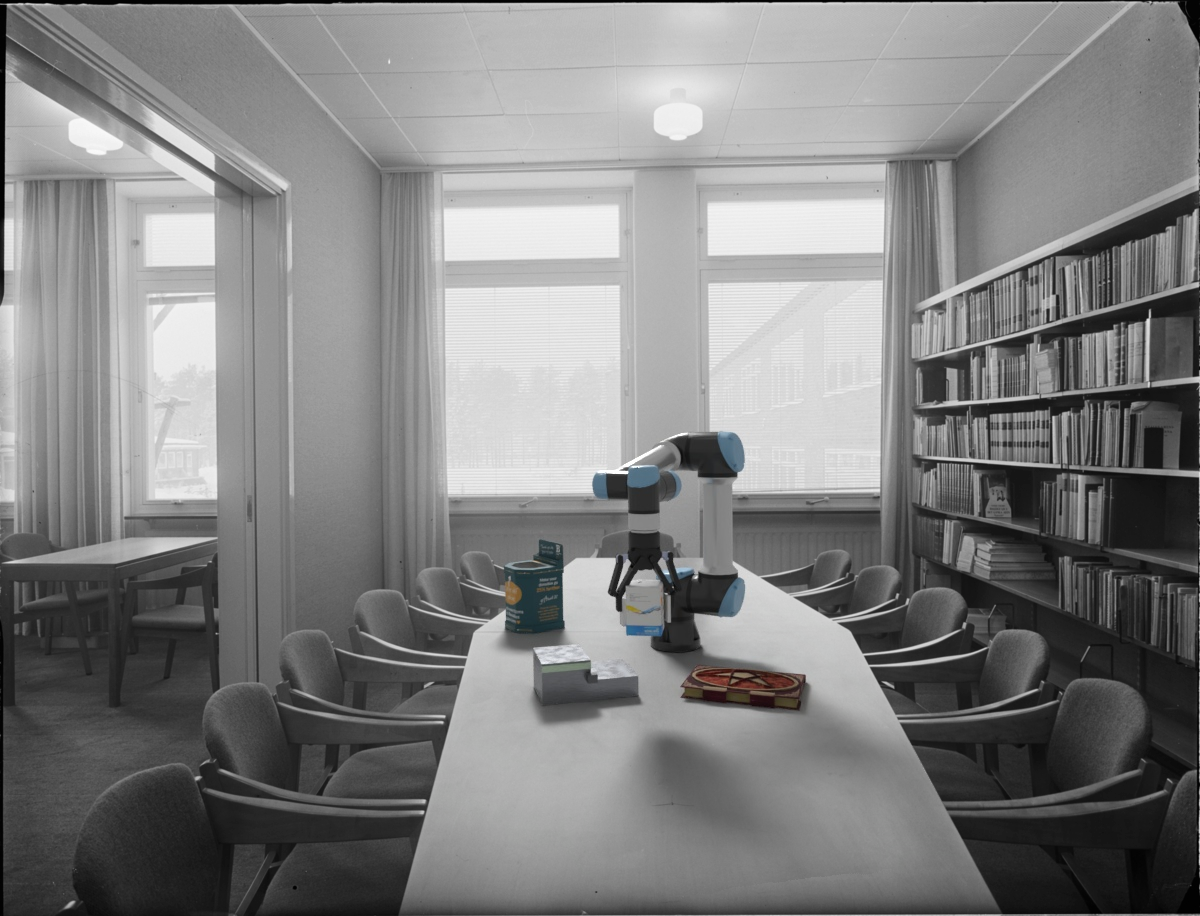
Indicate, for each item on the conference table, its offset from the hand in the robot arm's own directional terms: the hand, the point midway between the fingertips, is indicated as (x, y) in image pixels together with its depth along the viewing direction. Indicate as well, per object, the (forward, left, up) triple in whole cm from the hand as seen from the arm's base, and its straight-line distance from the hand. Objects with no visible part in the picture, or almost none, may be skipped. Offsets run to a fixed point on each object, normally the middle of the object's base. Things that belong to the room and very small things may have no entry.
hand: (645, 623), depth 178 cm
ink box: (0, 0, -2) cm, 2 cm away
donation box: (+16, -78, -20) cm, 82 cm away
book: (-27, -3, -21) cm, 34 cm away
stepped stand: (+12, -12, -20) cm, 26 cm away
